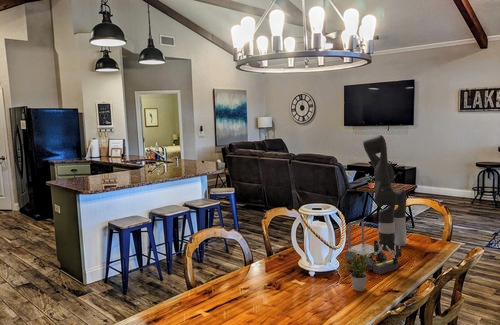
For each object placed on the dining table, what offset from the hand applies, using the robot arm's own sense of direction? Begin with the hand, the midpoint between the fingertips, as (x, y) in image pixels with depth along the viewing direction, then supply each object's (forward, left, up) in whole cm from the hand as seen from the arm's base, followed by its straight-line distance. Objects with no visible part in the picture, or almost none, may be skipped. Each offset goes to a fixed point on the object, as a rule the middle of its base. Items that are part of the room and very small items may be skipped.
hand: (387, 262), depth 192 cm
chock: (0, -1, -4) cm, 4 cm away
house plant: (+26, +4, -4) cm, 27 cm away
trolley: (0, -13, -4) cm, 14 cm away
